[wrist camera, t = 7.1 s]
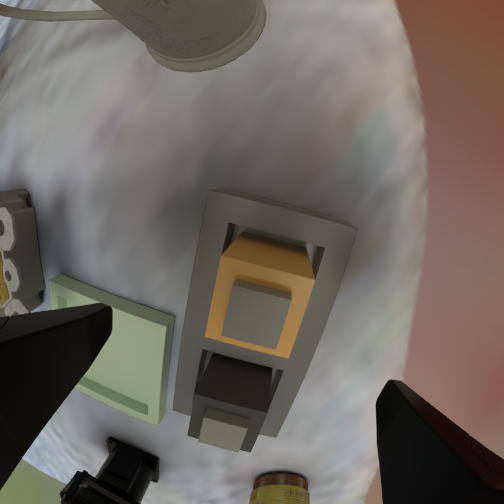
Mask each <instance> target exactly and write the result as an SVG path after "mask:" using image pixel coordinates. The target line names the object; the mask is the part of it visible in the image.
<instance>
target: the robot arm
mask: <svg viewBox="0 0 504 504" xmlns="http://www.w3.org/2000/svg"><path fill="white" fill-rule="evenodd" d="M112 328H113V310H112V307H111V306H109V305H106V304H104V303H94V304H88V305H81V306H75V307H68V308H61V309H54V310H47V311H40V312H33V313H26V314H19V315H11V316H3V317H0V490H1V489H2V487H3V486H4V484H5V483H6V481H7V480H8V478H9V476H10V475H11V474H12V472H13V471H14V469H15V468H16V466H17V465H18V463H19V462H20V460H21V459H22V457H23V456H24V454H25V453H26V452H27V450H28V449H29V447H30V446H31V445H32V443H33V442H34V440H35V439H36V438H37V436H38V435H39V433H40V432H41V431H42V429H43V428H44V427H45V425H46V424H47V423H48V421H49V420H50V419H51V417H52V416H53V415H54V413H55V412H56V411H57V409H58V408H59V407H60V405H61V404H62V403H63V401H64V400H65V399H66V398H67V396H68V395H69V394H70V392H71V391H72V390H73V389H74V387H75V386H76V385H77V383H78V382H79V381H80V380H81V378H82V377H83V376H84V375H85V373H86V372H87V371H88V369H89V368H90V367H91V365H92V364H93V362H94V361H95V359H96V357H97V356H98V354H99V353H100V351H101V349H102V348H103V346H104V345H105V343H106V342H107V340H108V339H109V337H110V335H111V333H112ZM376 426H377V448H378V456H379V465H380V475H381V484H382V485H381V486H382V499H383V504H504V459H503V458H501V457H499V456H498V455H496V454H495V453H494V452H492V451H490V450H489V449H488V448H486V447H485V446H484V445H482V444H481V443H480V442H478V441H477V440H476V439H474V438H473V437H472V436H469V434H468V433H467V432H465V431H464V430H463V429H461V428H460V427H459V426H458V425H456V424H455V423H454V422H452V421H451V420H450V419H449V418H447V417H446V416H445V415H443V414H442V413H441V412H440V411H438V410H437V409H436V408H435V407H433V406H432V405H430V404H429V403H428V402H427V401H425V400H424V399H423V398H422V397H420V396H419V395H418V394H417V393H415V392H414V391H413V390H412V389H410V388H409V387H408V386H407V385H405V384H404V383H403V382H402V381H399V380H389V381H388V382H387V383H386V385H385V386H384V388H383V390H382V391H381V393H380V395H379V396H378V398H377V401H376ZM107 445H108V450H109V456H108V458H107V459H106V461H105V462H104V464H103V466H102V467H101V469H100V470H99V472H98V474H97V475H96V477H93V476H91V475H90V474H88V472H87V471H85V470H84V471H83V472H80V471H77V472H76V474H75V475H74V477H73V478H72V479H71V481H70V482H69V483H68V484H67V486H65V488H64V489H63V490H62V491H61V493H60V497H61V504H140V503H141V501H142V499H143V496H144V494H145V492H146V490H147V488H148V486H149V483H150V481H153V482H156V483H157V482H158V480H159V459H158V458H157V457H155V456H153V455H150V454H148V453H145V452H143V451H140V450H138V449H135V448H133V447H131V446H128V445H126V444H124V443H122V442H119V441H117V440H115V439H113V438H111V437H108V439H107Z"/></svg>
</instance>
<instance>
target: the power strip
mask: <svg viewBox="0 0 504 504" xmlns="http://www.w3.org/2000/svg"><path fill="white" fill-rule="evenodd" d="M357 230H358V229H357V228H355V227H354V226H353V225H351V224H350V223H348V222H347V221H344V220H340V219H337V218H333V217H330V216H326V215H323V214H319V213H315V212H312V211H308V210H304V209H301V208H297V207H293V206H289V205H286V204H282V203H278V202H274V201H270V200H266V199H262V198H258V197H254V196H250V195H246V194H241V193H237V192H233V191H229V190H224V189H216V190H209V192H208V197H207V201H206V206H205V211H204V215H203V220H202V225H201V230H200V235H199V240H198V246H197V251H196V256H195V261H194V267H193V272H192V278H191V284H190V290H189V296H188V302H187V308H186V314H185V320H184V327H183V333H182V340H181V347H180V354H179V362H178V369H177V377H176V385H175V393H174V402H173V410H174V411H177V412H180V413H183V414H186V415H189V416H191V413H192V407H193V401H194V396H195V392H196V390H197V388H198V385H199V383H200V381H201V379H202V376H203V374H204V372H205V369H206V367H207V365H208V363H209V360H210V358H211V356H212V353H213V352H215V353H218V354H222V355H225V356H229V357H232V358H236V359H240V360H244V361H247V362H251V363H255V364H259V365H263V366H267V367H272V368H273V370H272V379H271V389H270V398H269V407H268V414H267V416H266V418H265V421H264V423H263V425H262V428H261V430H260V432H259V434H260V435H265V436H270V437H275V438H276V437H277V435H278V433H279V431H280V429H281V427H282V425H283V423H284V420H285V418H286V416H287V414H288V412H289V410H290V408H291V406H292V404H293V401H294V399H295V397H296V395H297V393H298V390H299V388H300V386H301V384H302V381H303V379H304V377H305V374H306V372H307V370H308V367H309V365H310V363H311V360H312V358H313V355H314V353H315V351H316V348H317V346H318V343H319V341H320V338H321V335H322V333H323V330H324V328H325V325H326V322H327V320H328V317H329V314H330V312H331V309H332V306H333V303H334V301H335V298H336V295H337V292H338V289H339V286H340V283H341V280H342V277H343V274H344V271H345V268H346V265H347V262H348V259H349V256H350V253H351V250H352V246H353V243H354V240H355V236H356V233H357ZM242 231H243V232H247V233H251V234H255V235H259V236H263V237H267V238H271V239H275V240H279V241H282V242H286V243H290V244H294V245H298V246H302V247H305V248H307V251H308V255H309V258H310V262H311V266H312V269H313V273H314V277H315V283H314V286H313V289H312V292H311V295H310V298H309V301H308V304H307V307H306V310H305V313H304V316H303V319H302V322H301V325H300V328H299V331H298V334H297V336H296V339H295V342H294V345H293V348H292V350H291V353H290V356H289V358H285V357H280V356H276V355H272V354H268V353H264V352H260V351H256V350H252V349H248V348H244V347H240V346H236V345H233V344H229V343H226V342H222V341H218V340H215V339H212V338H208V337H205V333H206V328H207V322H208V317H209V312H210V307H211V302H212V297H213V292H214V287H215V282H216V278H217V273H218V268H219V263H220V258H221V255H222V254H223V253H224V252H225V251H226V249H227V248H228V247H229V246H230V245H231V244H232V243H233V242H234V240H235V239H236V238H237V237H238V236H239V235H240V234H241V232H242Z"/></svg>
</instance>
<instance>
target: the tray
mask: <svg viewBox="0 0 504 504" xmlns="http://www.w3.org/2000/svg"><path fill="white" fill-rule="evenodd" d="M49 293H50V308H51V310H54V309H61V308H68V307H75V306H81V305H88V304H94V303H104V304H106V305H109V306H111V307H112V310H113V328H112V333H111V335H110V337H109V339H108V340H107V342H106V343H105V345H104V346H103V348H102V349H101V351H100V353H99V354H98V356H97V357H96V359H95V361H94V362H93V364H92V365H91V367H90V368H89V369H88V371H87V372H86V373H85V375H84V376H83V377H82V378H81V380H80V381H79V382H78V383H77V385H76V386H75V387H74V388H76V389H78V390H79V391H81V392H83V393H85V394H87V395H89V396H91V397H93V398H95V399H97V400H99V401H101V402H103V403H105V404H107V405H109V406H111V407H113V408H116V409H118V410H120V411H122V412H124V413H127V414H129V415H131V416H134V417H136V418H139V419H141V420H143V421H146V422H149V423H151V424H154V425H156V426H159V424H160V422H161V420H162V418H163V416H164V413H165V401H166V390H167V380H168V370H169V361H170V352H171V344H172V336H173V328H174V321H175V316H172V315H169V314H166V313H163V312H160V311H157V310H154V309H151V308H149V307H146V306H143V305H140V304H137V303H134V302H131V301H129V300H126V299H123V298H121V297H118V296H115V295H112V294H110V293H107V292H105V291H102V290H99V289H97V288H94V287H92V286H89V285H87V284H84V283H82V282H79V281H77V280H75V279H72V278H70V277H67V276H65V275H63V274H60V275H58V276H56V277H54V278H52V279H50V280H49Z"/></svg>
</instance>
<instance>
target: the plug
mask: <svg viewBox="0 0 504 504" xmlns="http://www.w3.org/2000/svg"><path fill="white" fill-rule="evenodd" d="M314 283H315V277H314V273H313V269H312V266H311V262H310V258H309V255H308V251H307V248H305V247H302V246H298V245H294V244H290V243H286V242H282V241H279V240H275V239H271V238H267V237H263V236H259V235H255V234H251V233H247V232H243V231H242V232H241V234H240V235H239V236H238V237H237V238H236V239H235V240H234V242H233V243H232V244H231V245H230V246H229V247H228V248H227V249H226V251H225V252H224V253H223V254H222V255H221V258H220V263H219V268H218V273H217V278H216V282H215V287H214V292H213V297H212V302H211V307H210V312H209V317H208V322H207V328H206V333H205V337H208V338H212V339H215V340H218V341H222V342H226V343H229V344H233V345H236V346H240V347H244V348H248V349H252V350H256V351H260V352H264V353H268V354H272V355H276V356H280V357H285V358H289V356H290V353H291V350H292V348H293V345H294V342H295V339H296V336H297V334H298V331H299V328H300V325H301V322H302V319H303V316H304V313H305V310H306V307H307V304H308V301H309V298H310V295H311V292H312V289H313V286H314Z"/></svg>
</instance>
